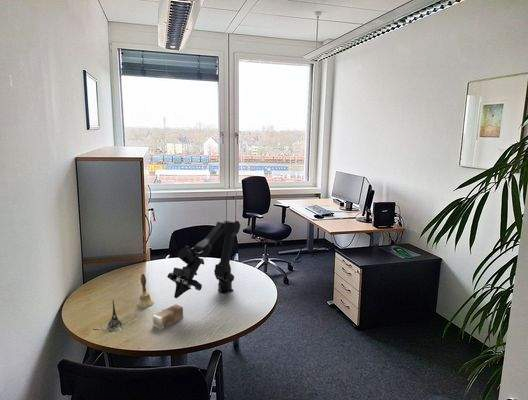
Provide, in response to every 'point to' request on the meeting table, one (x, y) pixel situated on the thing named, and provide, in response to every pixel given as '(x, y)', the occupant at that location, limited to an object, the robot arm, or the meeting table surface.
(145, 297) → the hand bell
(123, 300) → the meeting table surface
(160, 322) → the wooden block
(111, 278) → the meeting table surface
